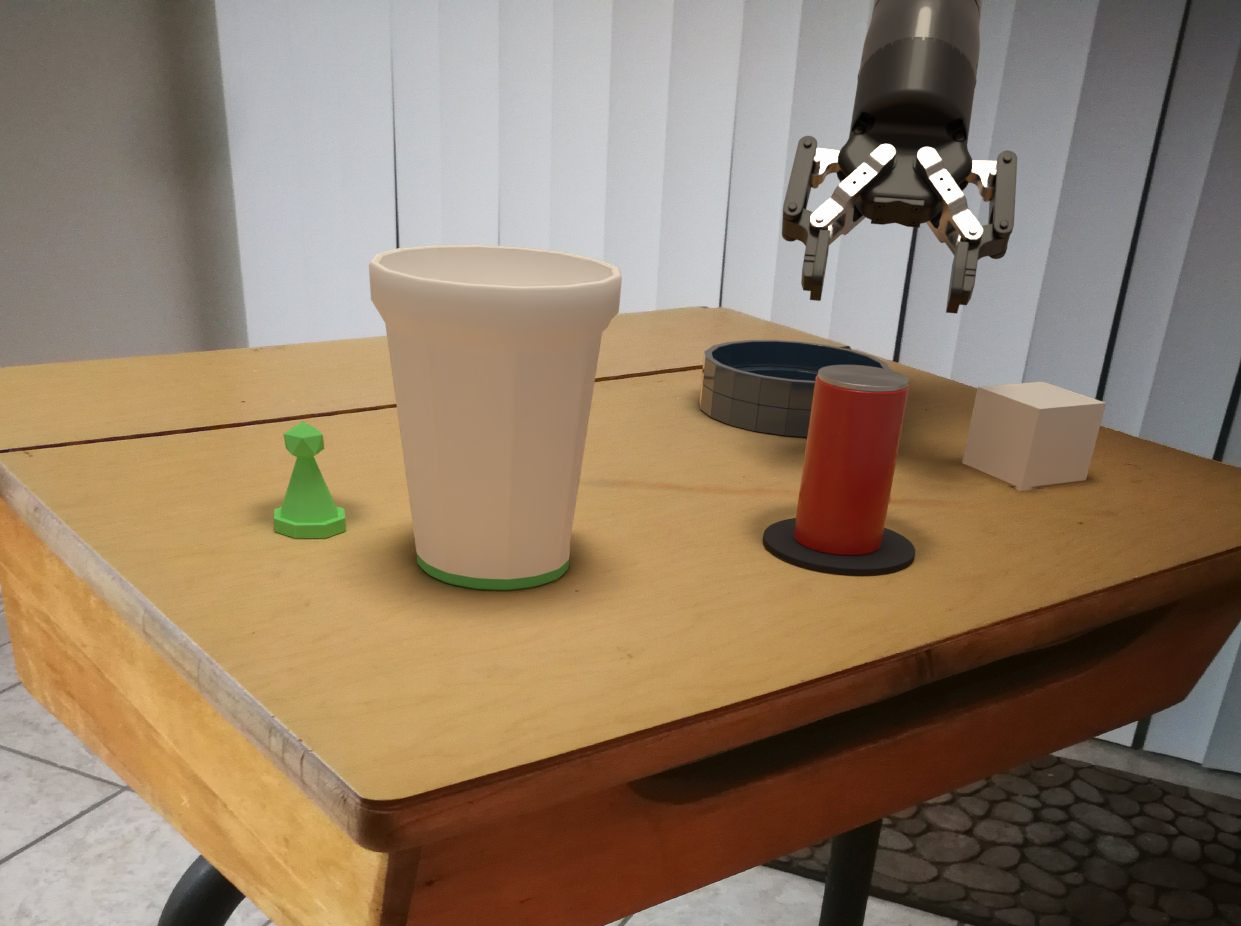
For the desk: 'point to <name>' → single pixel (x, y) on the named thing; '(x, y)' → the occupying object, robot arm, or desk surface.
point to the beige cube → (1032, 434)
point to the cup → (493, 400)
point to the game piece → (307, 491)
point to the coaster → (885, 560)
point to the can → (850, 458)
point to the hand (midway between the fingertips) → (884, 299)
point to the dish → (769, 382)
